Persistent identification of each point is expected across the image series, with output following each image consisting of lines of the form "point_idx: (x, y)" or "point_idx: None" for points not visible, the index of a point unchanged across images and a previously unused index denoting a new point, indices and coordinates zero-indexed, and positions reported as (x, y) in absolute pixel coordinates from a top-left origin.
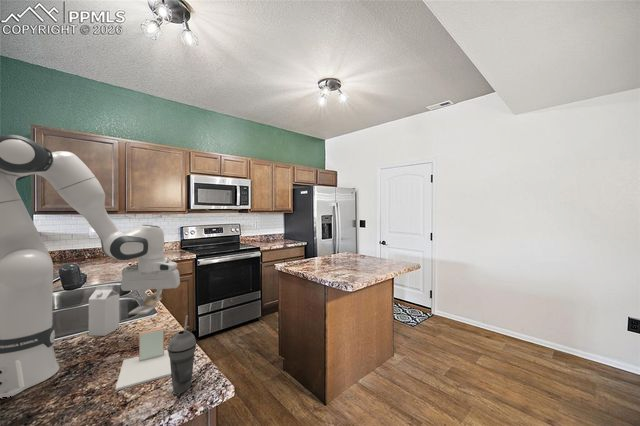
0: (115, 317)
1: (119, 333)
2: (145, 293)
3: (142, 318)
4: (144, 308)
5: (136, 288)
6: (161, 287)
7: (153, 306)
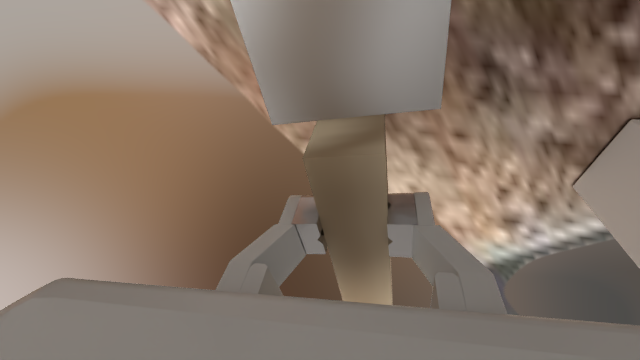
0: (628, 214)
1: (555, 141)
2: (429, 279)
3: (495, 250)
4: (321, 21)
5: (591, 357)
6: (163, 304)
7: (266, 89)
